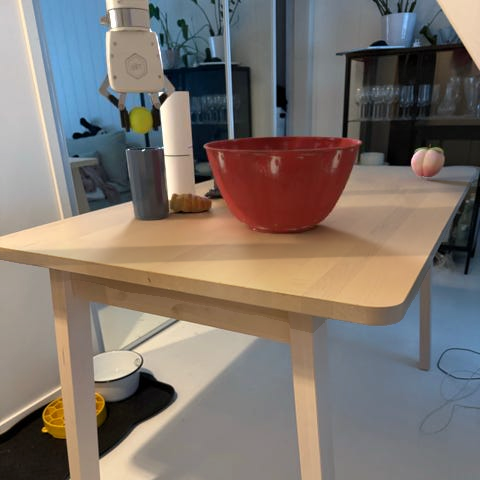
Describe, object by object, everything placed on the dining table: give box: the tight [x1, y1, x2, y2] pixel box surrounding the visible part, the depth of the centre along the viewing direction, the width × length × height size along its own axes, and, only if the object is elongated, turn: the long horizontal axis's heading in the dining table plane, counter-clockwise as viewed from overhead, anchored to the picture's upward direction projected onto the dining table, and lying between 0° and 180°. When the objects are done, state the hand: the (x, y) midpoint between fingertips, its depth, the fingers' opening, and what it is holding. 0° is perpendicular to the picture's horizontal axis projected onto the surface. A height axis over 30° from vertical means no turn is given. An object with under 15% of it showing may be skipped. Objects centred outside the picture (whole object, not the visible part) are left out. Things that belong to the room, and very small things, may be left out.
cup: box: [125, 146, 171, 221], centre depth 98 cm, size 8×8×14 cm
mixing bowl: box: [203, 135, 363, 234], centre depth 87 cm, size 28×28×15 cm
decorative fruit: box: [410, 143, 446, 178], centre depth 136 cm, size 9×8×10 cm
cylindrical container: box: [158, 90, 197, 201], centre depth 115 cm, size 7×7×25 cm
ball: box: [128, 105, 153, 135], centre depth 91 cm, size 5×5×5 cm
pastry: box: [169, 193, 213, 213], centre depth 105 cm, size 9×7×4 cm
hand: (141, 130), depth 92 cm, fingers closed on ball, 4 cm apart
